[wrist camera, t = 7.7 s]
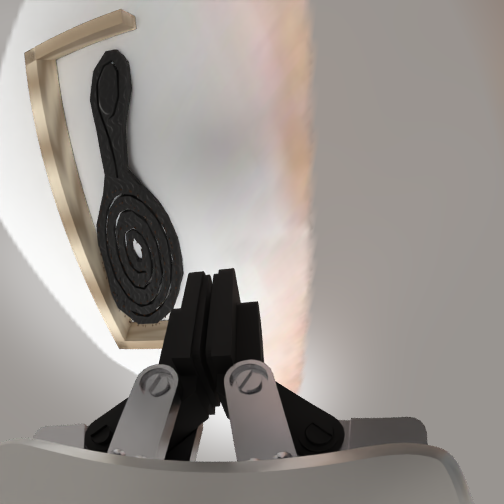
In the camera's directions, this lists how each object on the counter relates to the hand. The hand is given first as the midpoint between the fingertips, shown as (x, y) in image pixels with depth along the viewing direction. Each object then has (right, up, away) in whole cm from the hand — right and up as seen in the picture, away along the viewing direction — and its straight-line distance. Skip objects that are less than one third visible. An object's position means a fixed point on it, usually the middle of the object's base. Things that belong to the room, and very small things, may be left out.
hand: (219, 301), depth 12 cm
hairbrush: (-9, +7, +14) cm, 18 cm away
